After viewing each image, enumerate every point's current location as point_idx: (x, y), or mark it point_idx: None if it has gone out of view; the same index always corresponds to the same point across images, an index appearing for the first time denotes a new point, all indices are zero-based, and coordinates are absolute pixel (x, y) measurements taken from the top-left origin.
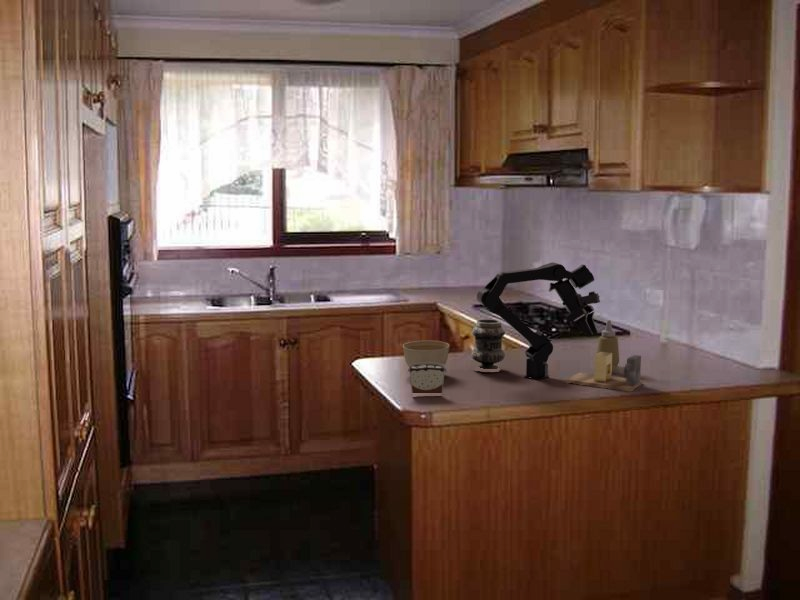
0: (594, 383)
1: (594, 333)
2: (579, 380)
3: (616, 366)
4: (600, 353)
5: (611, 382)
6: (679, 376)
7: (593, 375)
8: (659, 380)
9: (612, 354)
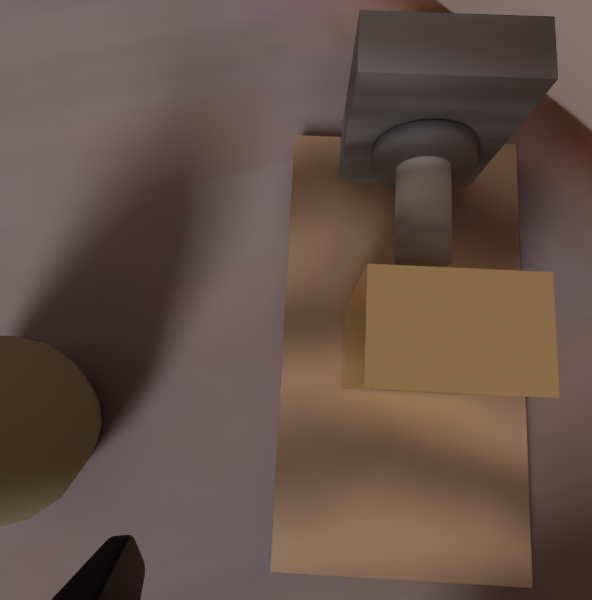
0: None
1: (141, 583)
2: (502, 489)
3: (438, 228)
4: (451, 363)
5: None
6: (32, 15)
7: (311, 444)
8: (172, 84)
9: (32, 368)
